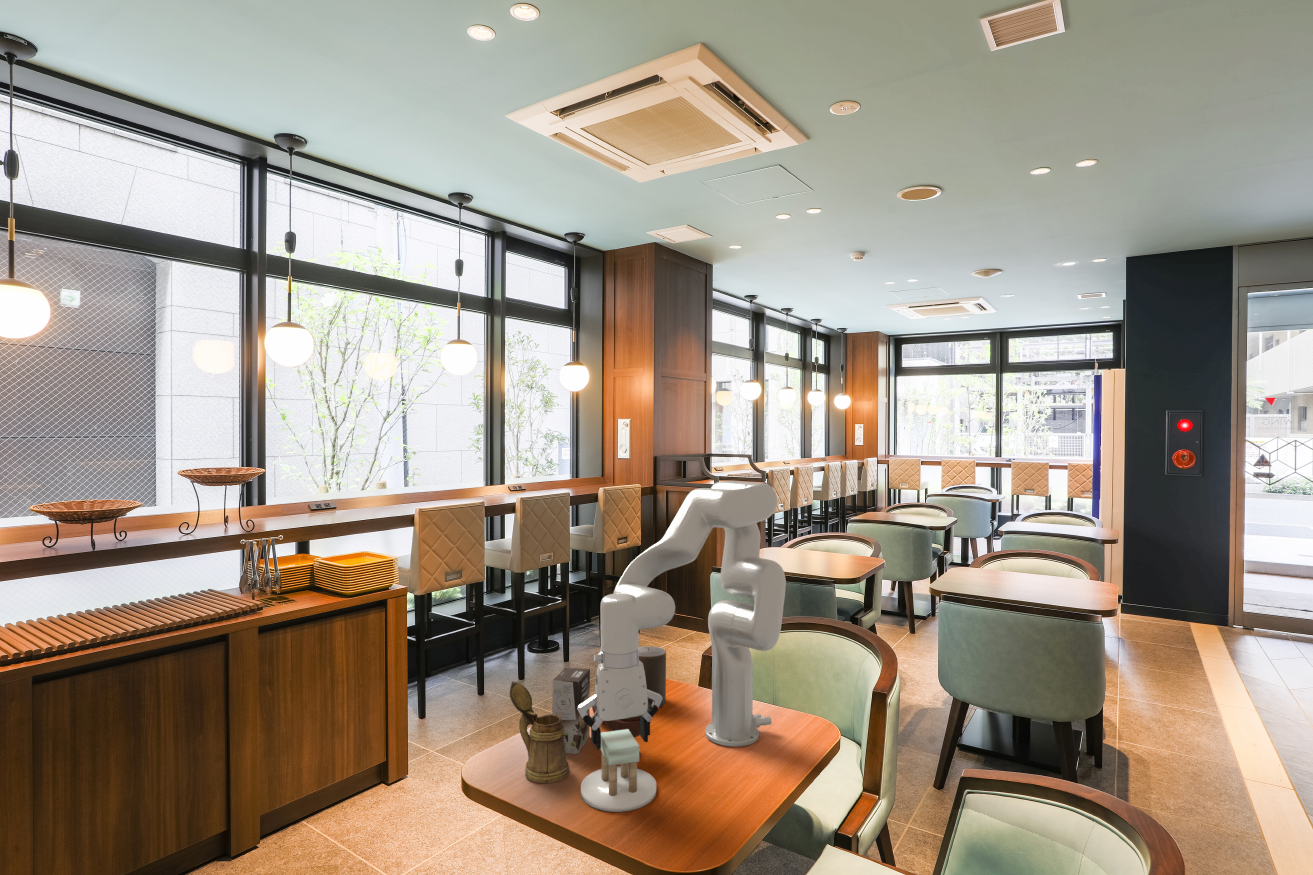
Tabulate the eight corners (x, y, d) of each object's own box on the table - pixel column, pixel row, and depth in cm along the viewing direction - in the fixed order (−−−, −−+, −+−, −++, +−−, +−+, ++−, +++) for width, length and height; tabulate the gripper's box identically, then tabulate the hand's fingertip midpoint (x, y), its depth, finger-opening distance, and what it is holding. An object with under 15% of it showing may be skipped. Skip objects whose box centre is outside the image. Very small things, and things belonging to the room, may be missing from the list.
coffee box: (578, 754, 149) (578, 681, 149) (551, 751, 150) (551, 679, 150) (590, 736, 158) (591, 668, 158) (564, 734, 159) (565, 666, 159)
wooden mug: (522, 755, 148) (522, 674, 148) (576, 767, 143) (577, 682, 143) (498, 774, 140) (499, 687, 140) (555, 787, 135) (556, 697, 135)
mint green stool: (639, 792, 131) (639, 745, 131) (609, 796, 129) (609, 750, 129) (628, 772, 138) (628, 728, 138) (599, 776, 136) (599, 732, 136)
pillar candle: (653, 712, 172) (654, 653, 172) (621, 704, 177) (622, 647, 177) (672, 700, 180) (673, 644, 180) (641, 693, 185) (642, 638, 185)
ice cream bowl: (593, 755, 148) (593, 687, 148) (629, 739, 156) (629, 674, 156) (627, 772, 141) (627, 700, 141) (663, 754, 149) (663, 686, 149)
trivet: (643, 767, 143) (643, 761, 143) (666, 804, 129) (666, 797, 129) (573, 778, 138) (573, 772, 138) (589, 817, 124) (589, 811, 124)
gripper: (581, 669, 127) (582, 758, 128) (667, 658, 133) (668, 744, 133) (573, 656, 134) (574, 741, 135) (655, 646, 140) (656, 728, 140)
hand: (621, 742), depth 134 cm, fingers open, 9 cm apart
